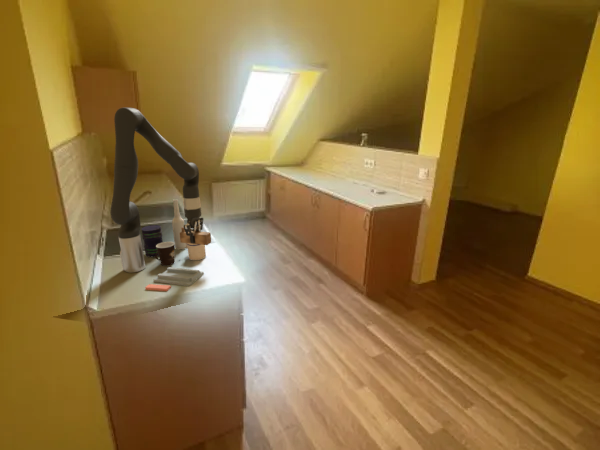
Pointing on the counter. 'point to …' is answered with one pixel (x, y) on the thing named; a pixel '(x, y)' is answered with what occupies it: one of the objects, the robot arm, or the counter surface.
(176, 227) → the bottle
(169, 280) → the cradle jig
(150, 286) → the salmon pink bar
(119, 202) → the robot arm
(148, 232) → the storage jar
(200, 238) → the plank with peg
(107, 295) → the counter surface
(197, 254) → the teacup with lid
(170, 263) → the coffee mug
